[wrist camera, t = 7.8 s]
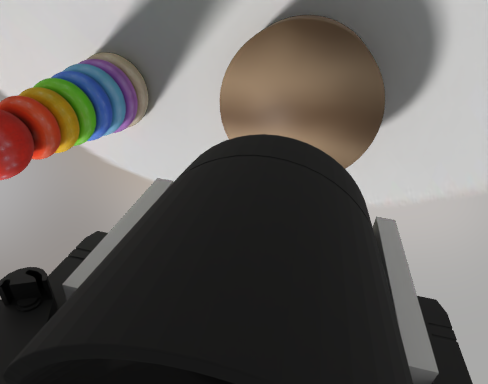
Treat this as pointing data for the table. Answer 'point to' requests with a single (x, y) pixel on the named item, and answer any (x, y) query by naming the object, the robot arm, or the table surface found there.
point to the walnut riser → (305, 87)
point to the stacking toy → (70, 110)
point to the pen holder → (233, 283)
